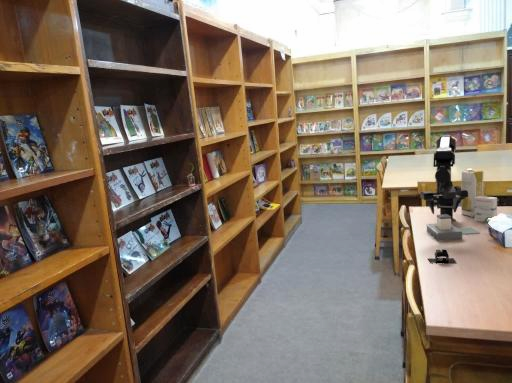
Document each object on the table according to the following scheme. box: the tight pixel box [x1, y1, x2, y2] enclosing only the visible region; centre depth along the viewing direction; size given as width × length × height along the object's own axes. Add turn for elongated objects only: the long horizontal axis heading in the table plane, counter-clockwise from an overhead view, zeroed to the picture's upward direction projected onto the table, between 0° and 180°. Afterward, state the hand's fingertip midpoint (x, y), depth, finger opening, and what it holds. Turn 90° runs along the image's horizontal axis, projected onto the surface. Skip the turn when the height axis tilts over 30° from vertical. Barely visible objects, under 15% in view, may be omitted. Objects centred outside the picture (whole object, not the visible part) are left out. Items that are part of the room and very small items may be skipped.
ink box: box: [474, 195, 498, 223], centre depth 193 cm, size 9×5×12 cm, turn 39°
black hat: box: [427, 249, 458, 265], centre depth 152 cm, size 12×7×5 cm, turn 78°
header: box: [425, 222, 463, 242], centre depth 180 cm, size 14×10×4 cm
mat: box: [457, 227, 481, 236], centre depth 182 cm, size 8×8×1 cm
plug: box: [436, 214, 452, 230], centre depth 179 cm, size 4×4×9 cm
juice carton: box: [461, 168, 484, 218], centre depth 204 cm, size 9×8×24 cm
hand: (443, 213), depth 178 cm, fingers open, 9 cm apart
